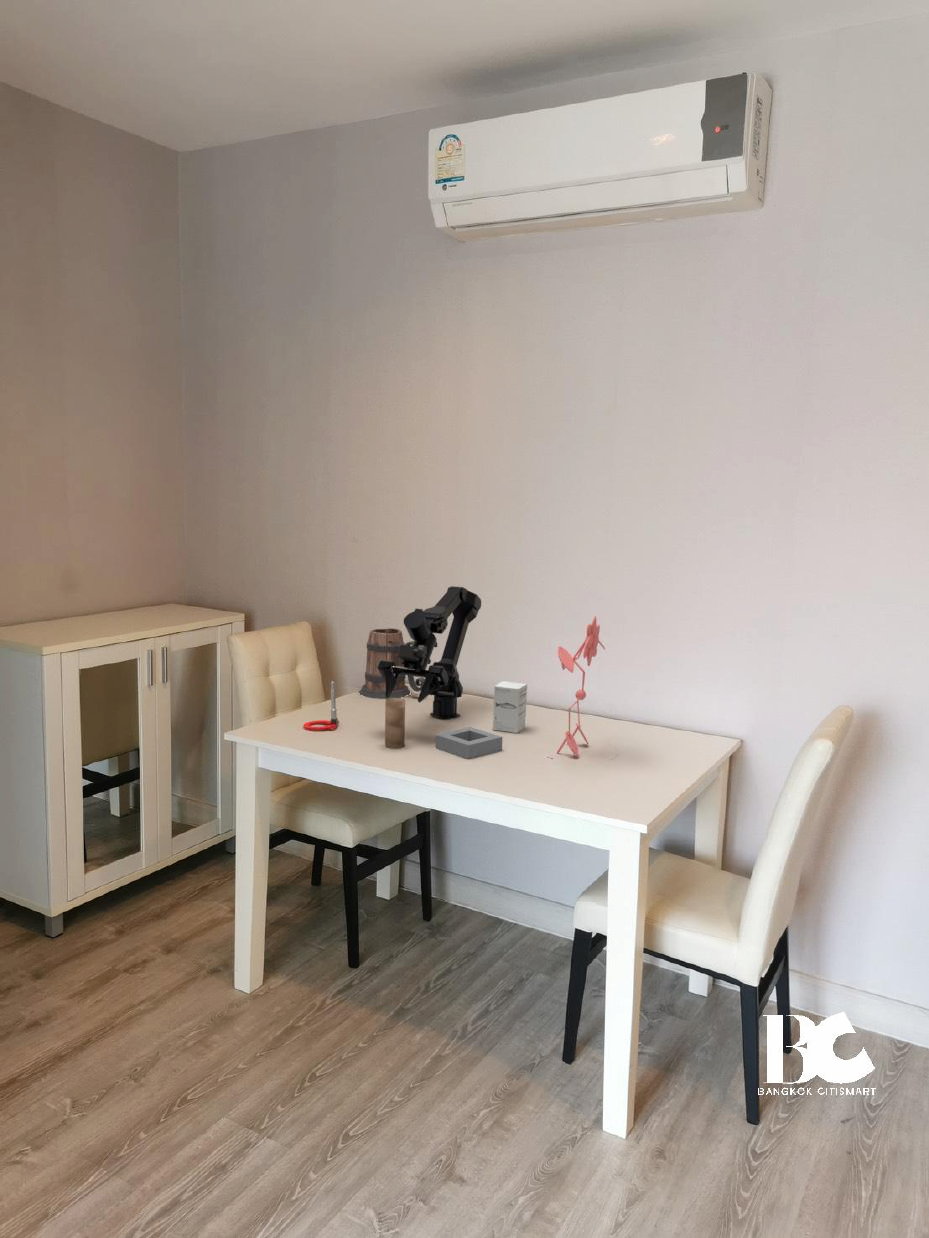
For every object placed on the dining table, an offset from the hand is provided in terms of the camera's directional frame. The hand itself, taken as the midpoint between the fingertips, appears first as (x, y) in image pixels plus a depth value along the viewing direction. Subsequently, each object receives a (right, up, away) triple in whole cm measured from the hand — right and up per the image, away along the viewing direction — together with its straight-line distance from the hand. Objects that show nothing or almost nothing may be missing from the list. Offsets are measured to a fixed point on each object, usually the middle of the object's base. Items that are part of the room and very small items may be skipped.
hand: (402, 699), depth 242 cm
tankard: (-6, -3, +53) cm, 54 cm away
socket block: (+17, -12, -3) cm, 21 cm away
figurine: (+48, -13, -4) cm, 50 cm away
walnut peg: (-2, -12, -2) cm, 12 cm away
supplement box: (+28, -10, +17) cm, 34 cm away
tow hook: (-23, -9, +13) cm, 28 cm away
